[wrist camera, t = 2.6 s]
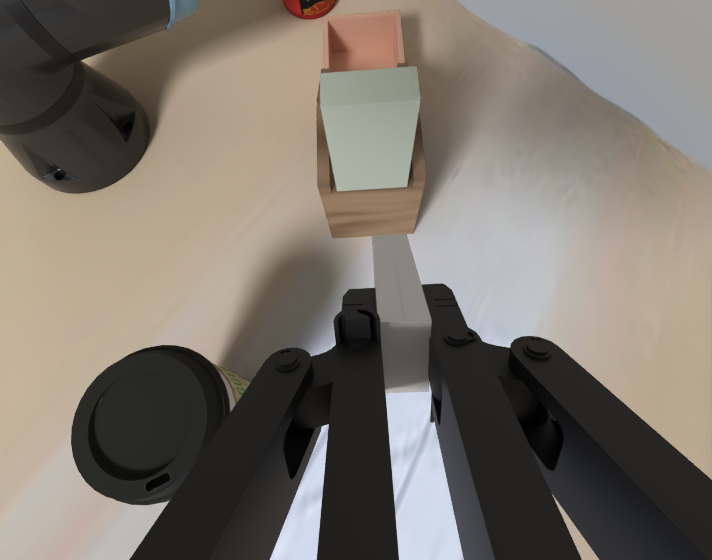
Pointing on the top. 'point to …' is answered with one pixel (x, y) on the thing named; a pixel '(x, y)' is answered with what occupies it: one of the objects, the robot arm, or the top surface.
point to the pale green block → (370, 125)
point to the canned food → (309, 8)
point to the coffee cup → (150, 422)
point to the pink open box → (362, 41)
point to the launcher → (369, 194)
